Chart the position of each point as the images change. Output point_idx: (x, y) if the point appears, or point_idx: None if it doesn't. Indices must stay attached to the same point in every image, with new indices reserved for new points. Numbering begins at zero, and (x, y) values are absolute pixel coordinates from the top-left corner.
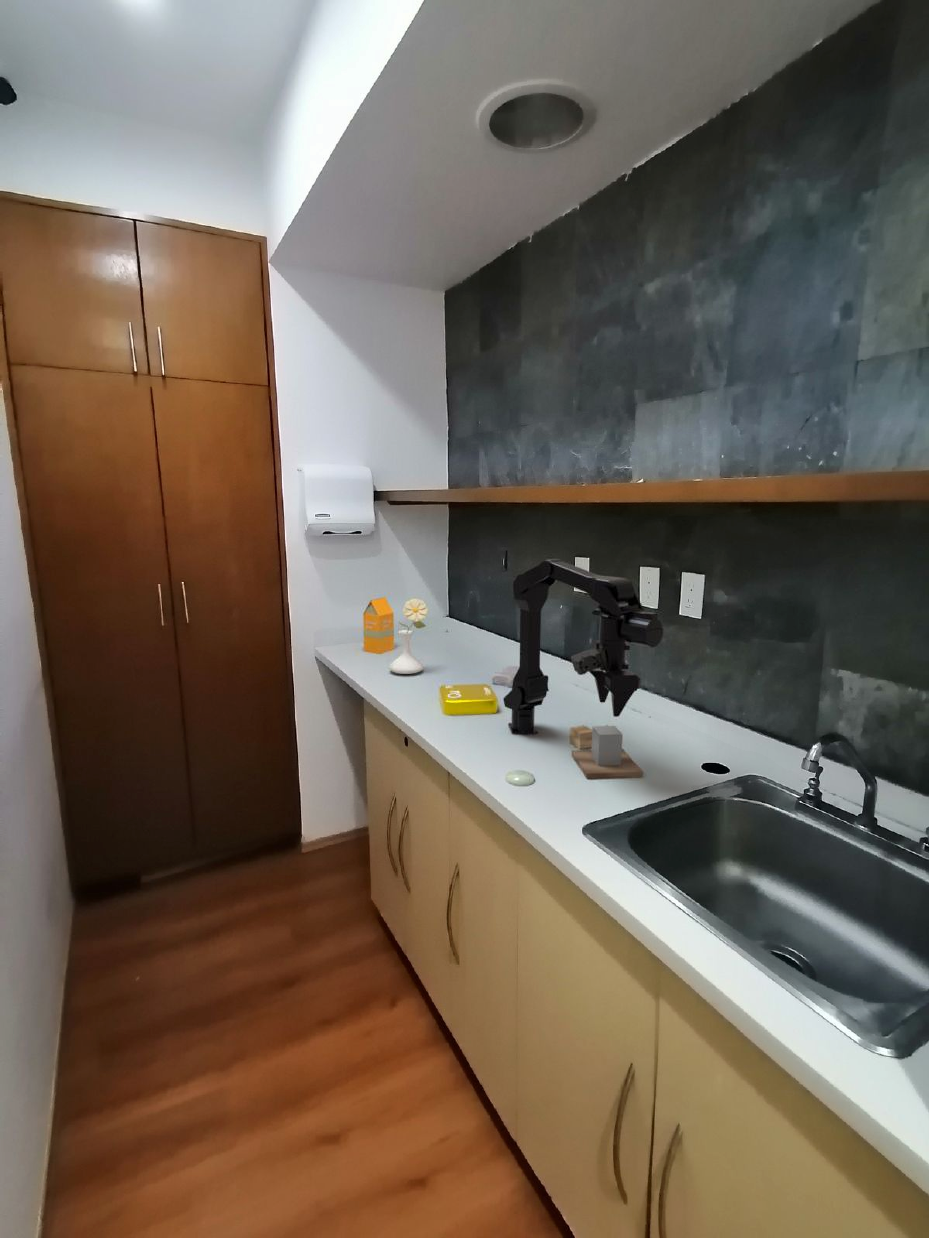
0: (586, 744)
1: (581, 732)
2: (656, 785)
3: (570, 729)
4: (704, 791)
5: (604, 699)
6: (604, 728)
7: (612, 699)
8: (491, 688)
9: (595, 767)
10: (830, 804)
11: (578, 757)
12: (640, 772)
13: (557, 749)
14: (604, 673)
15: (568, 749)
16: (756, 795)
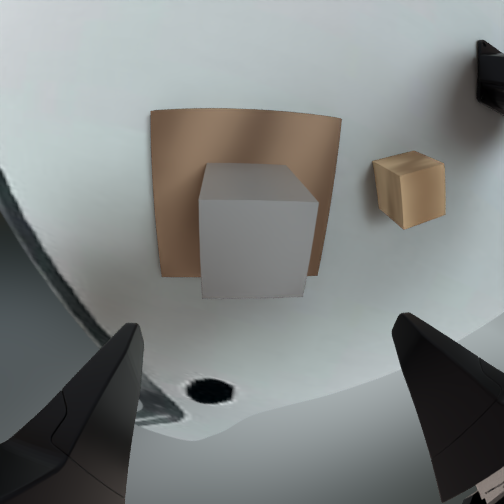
0: (381, 188)
1: (405, 183)
2: (119, 281)
3: (439, 162)
4: None
5: (399, 342)
6: (281, 248)
7: (64, 412)
8: None
9: (193, 150)
10: None
11: (283, 119)
12: (162, 269)
13: (384, 96)
14: (483, 465)
15: (378, 128)
16: None
